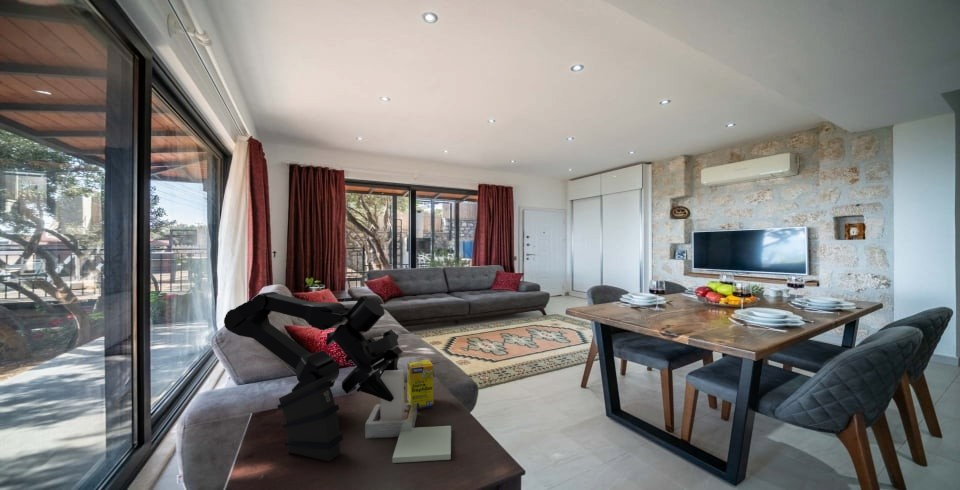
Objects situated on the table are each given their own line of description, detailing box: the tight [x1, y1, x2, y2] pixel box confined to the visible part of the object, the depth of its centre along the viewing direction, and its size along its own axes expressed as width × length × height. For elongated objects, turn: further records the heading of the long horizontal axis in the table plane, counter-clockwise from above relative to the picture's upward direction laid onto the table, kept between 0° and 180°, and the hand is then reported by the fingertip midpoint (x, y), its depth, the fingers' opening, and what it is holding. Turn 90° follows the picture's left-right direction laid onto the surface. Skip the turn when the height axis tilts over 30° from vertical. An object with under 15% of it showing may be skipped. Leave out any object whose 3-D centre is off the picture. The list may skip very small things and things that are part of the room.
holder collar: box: [364, 402, 418, 439], centre depth 79 cm, size 10×10×3 cm
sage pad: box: [392, 425, 452, 464], centre depth 70 cm, size 11×11×1 cm
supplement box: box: [406, 359, 434, 411], centre depth 90 cm, size 6×6×11 cm
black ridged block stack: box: [277, 376, 344, 462], centre depth 68 cm, size 4×13×15 cm, turn 71°
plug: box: [379, 369, 408, 421], centre depth 79 cm, size 6×6×12 cm
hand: (398, 394), depth 78 cm, fingers closed on plug, 6 cm apart
